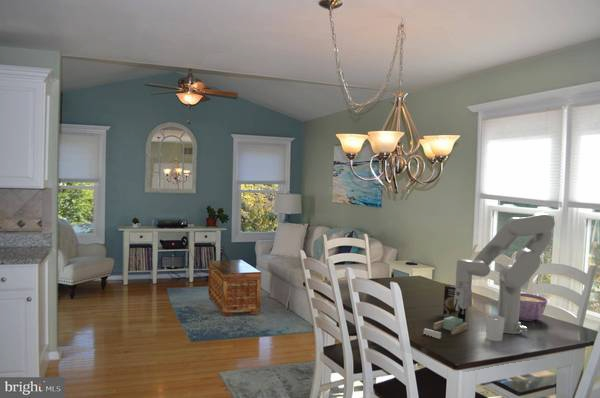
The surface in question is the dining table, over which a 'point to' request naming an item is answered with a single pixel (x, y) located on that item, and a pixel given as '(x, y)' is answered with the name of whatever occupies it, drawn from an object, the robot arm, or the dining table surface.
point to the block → (451, 322)
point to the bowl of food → (531, 307)
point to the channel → (453, 330)
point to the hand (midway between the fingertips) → (461, 321)
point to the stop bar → (432, 333)
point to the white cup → (494, 327)
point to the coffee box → (449, 302)
